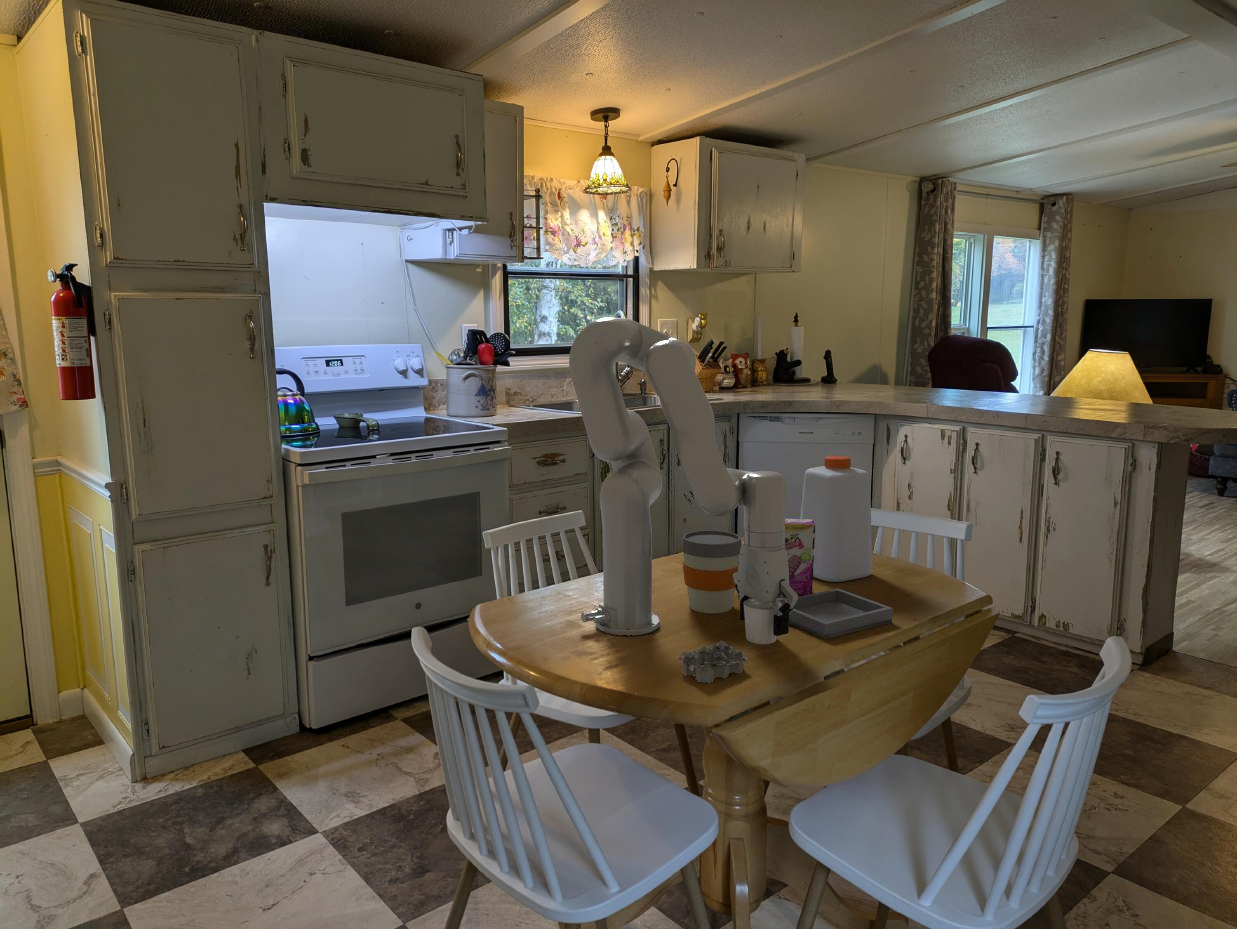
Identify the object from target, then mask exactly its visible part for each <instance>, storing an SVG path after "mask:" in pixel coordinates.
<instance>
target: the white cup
mask: <svg viewBox="0 0 1237 929" xmlns="http://www.w3.org/2000/svg"><path fill="white" fill-rule="evenodd" d="M778 604H779V606H781V604H780V603H779V602H778ZM775 614H776V612H775V610H774V608H773V606H772V604H771V603H769V604H766V603H763V602H760V601H758V600H755V599H753V598H752V599H748V600H746V601H745V602H744V615H745V621H744V625H745V626H744V627H745V628H744V629H745V638H746V640H747V641H748V642H750V643H753V644H758V645H769V644H773V643H775V642H777V639H778V638H777V637H778V636H775V635H774V634H773V616H774V615H775Z"/></svg>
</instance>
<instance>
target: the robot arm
mask: <svg viewBox="0 0 1237 929" xmlns="http://www.w3.org/2000/svg"><path fill="white" fill-rule="evenodd" d="M568 362H569V363H568V364H569V365H568V367H569V372H570V377H571V381H572V385H573V389H574V392H575V395H576V398H577V401H578V406H579V410H580V413H581V417H582V420H583V424H584V427H585V431H586V435H587V437H588V438H587V439H588V442H589V446H590V448H591V450H592V452H593V454H594V456H596V457H597V458H598V459H600V460H602V461H603V462H607V463H611V464H610V465H611V466H612V470H613V471H611V472H609V474H608V475H607V477H605V479H604V480H603V482H602V485H601V486H600V492H599V507H600V515H601V523H602V550H603V551H602V552H603V554H602V556H603V558H602V559H603V562H602V563H603V566H602V567H603V569H602V570H603V602H599V603H598V607H596V608H595V610H588V611H583V612H581V614H580V619H581V621H582V623H587V622H592V621H593V624H595V626H596V628H597V629H598V630H600V631H601V632H603V633H606V634H609V633H610V634H611V635H614V636H615V635H616V636H623V635H627V636H630V635H632V636H641V635H645V634H649V633H652V632H654V631H656V630H657V629H659V627H660V624H661V621H660V617H658V615H657V614H654V613H653V612H652V611H653V610H652V609H653V607H652V606H653V605H652V603H653V590H652V588H653V530H652V520H651V508H650V507H651V505H652V504H653V503H655V501H656V500H657V499H658V498H659V497H660V494H661V493H662V490H663V476H662V472H661V467H660V465H659V462H658V457H657V455H656V452H655V446H654V445H653V441H652V438H651V434H650V432H649V428H648V426H647V424H646V422H645V420H644V419H643V417H642V416H641V415H640V414H639V413H637V412H635V411H634V410H632V409H628V408H627V407H626V404H625V400H624V398H623V393H622V388H621V385H620V383H619V381H618V379H617V377H616V374H615V370H614V366H615V364H616V363H623V364H626V365H629V366H631V367H633V368H634V369H638V370H640V371H642V372H645V375H646V378H647V379H648V382H649V384H650V387H651V389H652V391H653V393H654V395H655V398H656V400H657V401H658V403H659V406H660V408H661V410H662V412H663V416H664V417H665V419H666V422H667V423H668V425H669V429H670V431H671V433H672V434H671V435H672V438H673V443H674V446H675V449H676V452H677V456H678V460H679V463H680V467H681V468H682V472H683V474H684V476H685V478H686V481H687V483H688V486H689V487H690V489H691V491H692V494H693V496H694V498H695V501H696V502H697V504H698V505H699V507H700V508H701V509H702V510H703V511H704V512H705V513H706V514H708V515H710V516H712V517H713V516H714V517H725V516H727V515H730V514H731V513H732V512H733V511H734V510H735V509H737V507H740V506H741V507H743V513H744V514H743V541H742V542H741V549H740V555H739V563H738V572H736V573H734V574H733V578H734V582H735V584H736V585H735V590H736V592H737V598H738V600H739V620H740V621H742V622H745V615H744V602H745V601H746V600H748V599H752V598H753V599H755V600H758V601H760V602H763V603H766V604H769V603H771V604H772V606H773V608H774V610H775V612H776V614H775V615H774V616H773V634H774V635H775V636H777V637H779V636H783V635H787V634H788V633H789V631H790V630H789V629H790V624H789V614H790V613H791V612H792V610H793V609H794V608H795V604H796V602H797V599H798V597H799V595H797V594H796V592H795V591H794V590H793V589H792V588H791V587H790V586H789V568H788V558H787V552H786V548H784V547H785V519H786V506H787V504H786V501H787V500H786V499H787V498H786V497H787V495H786V492H787V491H786V490H787V488H786V487H787V483H786V482H787V481H786V478H785V476H784V474H782V473H780V472H778V471H773V470H772V471H771V470H758V471H757V470H756V471H748V470H743V469H736V468H731V467H726V465H725V462H724V459H723V458H722V455H721V452H720V449H719V447H718V442H717V439H716V426H715V425H716V424H715V423H716V422H715V421H716V419H715V413H714V411H713V407H712V405H711V403H710V401H709V399H708V397H707V394H706V392H705V391H704V389H703V386H702V384H701V382H700V379H699V378H698V376H697V372H696V368H697V367H696V366H697V358H696V354H695V351H694V350H693V348H692V346H690V344H688V343H687V342H685V341H684V340H681V339H678V338H676V337H673V336H671V335H669V334H666V333H663V332H661V331H659V330H656V329H654V328H652V327H650V326H647V325H645V324H642V323H641V322H638V321H635V320H633V319H631V318H625V317H609V316H608V317H607V316H606V317H602V318H597V319H595V320H593V321H592V322H590V323H588V324H587V325H585V327H584V328H583V329H581V331H580V332H579V333H578V334H577V335H576V338H575V339H574V340H573V342H572V345H571V347H570V351H569V359H568ZM778 602H781V603H782V605H783V606H782V607H781V608H780V606H779V604H778ZM610 634H609V635H610ZM627 636H626V637H627Z"/></svg>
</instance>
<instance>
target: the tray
mask: <svg viewBox="0 0 1237 929" xmlns="http://www.w3.org/2000/svg"><path fill="white" fill-rule="evenodd" d="M779 603H780V604H781V606H780V608H781V607H782V606H783V605H782V603H781V602H779ZM893 612H894V608H893V607H891V606H889V605H885V604H882V603H880V602H877V601H874V600H871V599H868V598H867V597H863V596H860V595H858V594H854V593H852V592H849V591H846V590H843V589H840V588H833V589H830V590H824V591H819V592H814V593H812V594H809V595H804V596H800V595H798V599H797V602H796V604H795V608H794V609H793V610H792V612H791V613H790V614H789V625H791V626H794V627H796V628H798V629H800V630H803V631H805V632H807V633H809V634H812V635H814V636H817V637H819V638H821V639H822V640H827V639H831V638H836V637H840V636H844V635H848V634H852V633H856V632H859V631H864V630H868V629H872V628H877V627H881V626H884V625H888V624H891V623H893V614H894V613H893Z"/></svg>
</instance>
